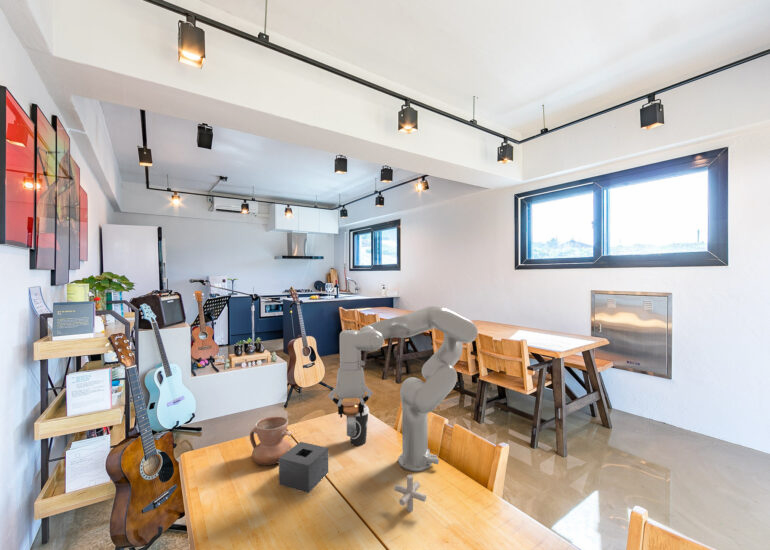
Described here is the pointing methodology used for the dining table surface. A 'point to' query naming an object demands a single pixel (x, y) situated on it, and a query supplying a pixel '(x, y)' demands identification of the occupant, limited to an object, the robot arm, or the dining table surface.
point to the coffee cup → (361, 428)
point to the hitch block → (303, 466)
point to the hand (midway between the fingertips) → (351, 415)
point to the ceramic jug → (270, 440)
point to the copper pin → (351, 416)
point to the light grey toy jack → (409, 493)
